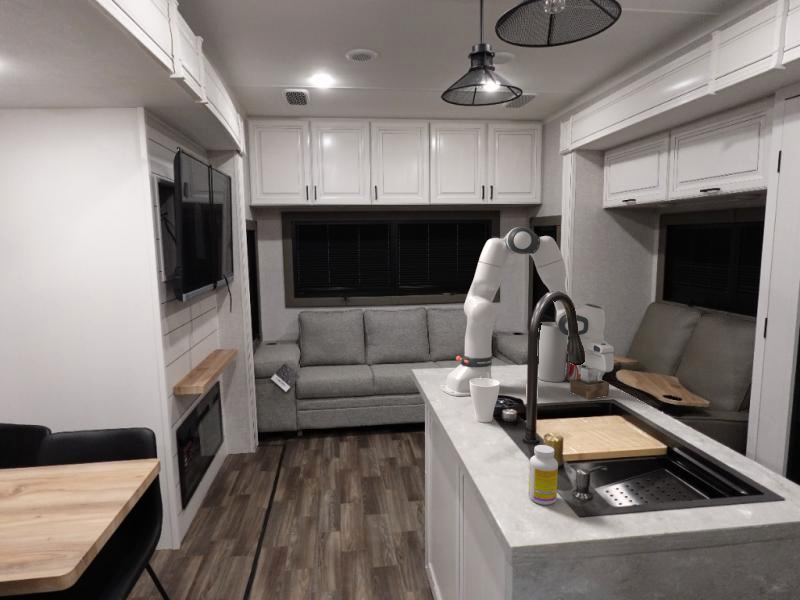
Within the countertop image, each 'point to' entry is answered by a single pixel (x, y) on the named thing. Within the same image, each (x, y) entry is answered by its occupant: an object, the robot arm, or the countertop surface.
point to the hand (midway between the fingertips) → (589, 377)
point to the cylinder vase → (552, 353)
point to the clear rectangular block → (589, 376)
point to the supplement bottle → (543, 475)
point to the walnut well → (589, 389)
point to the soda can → (572, 371)
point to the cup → (484, 397)
